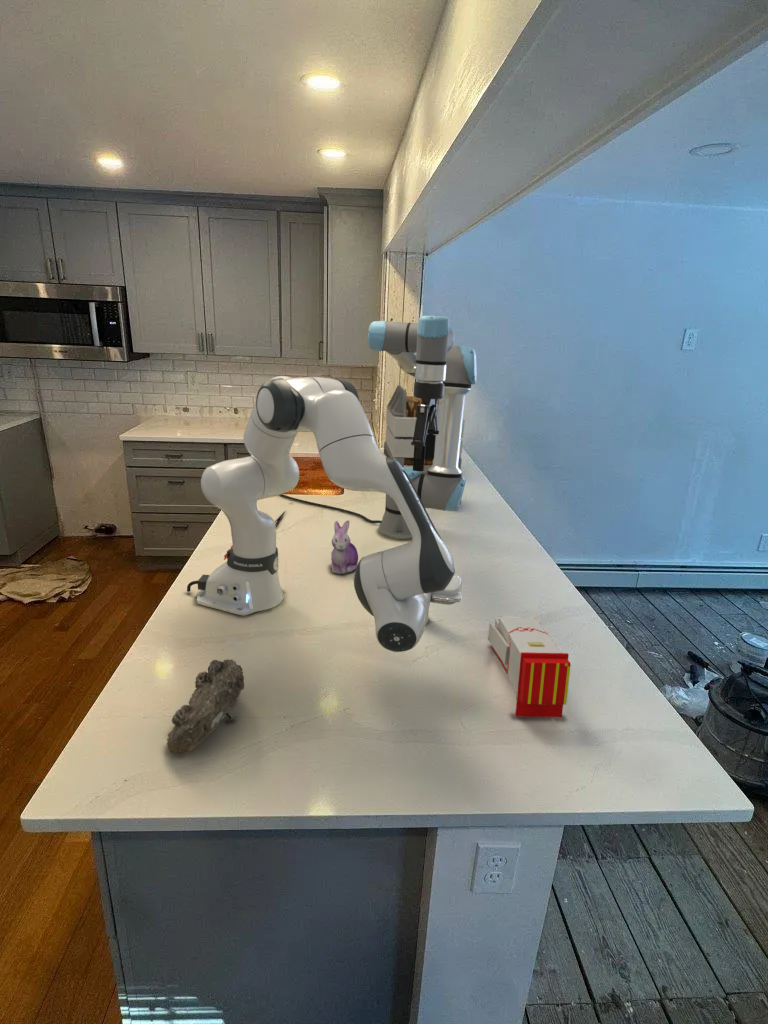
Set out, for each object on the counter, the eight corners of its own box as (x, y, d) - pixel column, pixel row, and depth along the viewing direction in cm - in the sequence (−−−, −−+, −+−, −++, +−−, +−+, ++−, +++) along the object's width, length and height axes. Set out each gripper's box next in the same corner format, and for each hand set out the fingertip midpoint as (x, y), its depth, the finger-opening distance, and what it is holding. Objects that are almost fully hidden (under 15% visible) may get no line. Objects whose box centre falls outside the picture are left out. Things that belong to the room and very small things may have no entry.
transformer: (382, 463, 289) (386, 382, 275) (445, 464, 293) (451, 384, 279) (390, 482, 257) (394, 392, 243) (460, 483, 261) (468, 394, 247)
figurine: (336, 577, 165) (336, 529, 160) (323, 563, 174) (323, 517, 169) (365, 572, 170) (367, 525, 164) (351, 558, 178) (352, 514, 173)
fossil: (192, 660, 117) (244, 628, 112) (224, 691, 120) (276, 661, 115) (142, 746, 98) (202, 712, 93) (182, 779, 101) (242, 748, 96)
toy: (534, 602, 136) (579, 659, 107) (529, 653, 139) (572, 723, 110) (484, 601, 136) (516, 658, 107) (480, 652, 139) (510, 722, 109)
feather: (291, 505, 226) (294, 501, 225) (275, 529, 199) (277, 524, 199) (288, 503, 226) (290, 499, 225) (270, 526, 199) (273, 522, 199)
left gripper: (462, 589, 112) (465, 561, 125) (361, 576, 115) (374, 549, 128) (459, 617, 114) (462, 586, 127) (360, 603, 117) (373, 574, 130)
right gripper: (424, 375, 153) (419, 452, 160) (403, 386, 130) (398, 474, 137) (452, 377, 151) (446, 455, 158) (435, 388, 128) (428, 478, 136)
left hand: (417, 567), depth 128 cm, fingers open, 8 cm apart
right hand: (423, 464), depth 148 cm, fingers open, 13 cm apart
